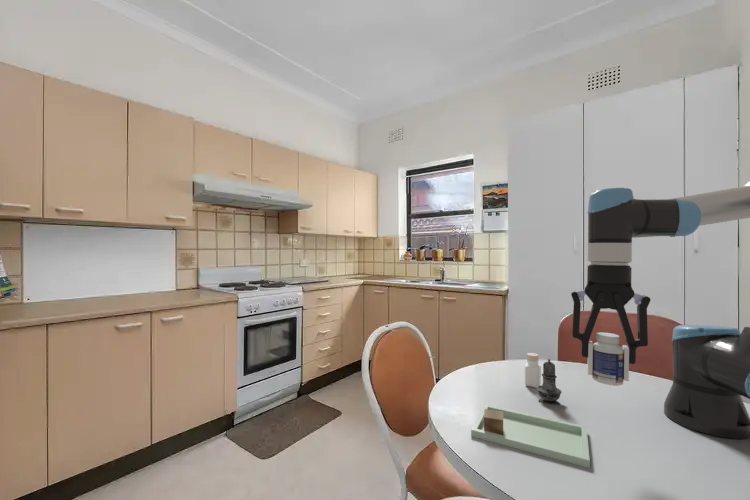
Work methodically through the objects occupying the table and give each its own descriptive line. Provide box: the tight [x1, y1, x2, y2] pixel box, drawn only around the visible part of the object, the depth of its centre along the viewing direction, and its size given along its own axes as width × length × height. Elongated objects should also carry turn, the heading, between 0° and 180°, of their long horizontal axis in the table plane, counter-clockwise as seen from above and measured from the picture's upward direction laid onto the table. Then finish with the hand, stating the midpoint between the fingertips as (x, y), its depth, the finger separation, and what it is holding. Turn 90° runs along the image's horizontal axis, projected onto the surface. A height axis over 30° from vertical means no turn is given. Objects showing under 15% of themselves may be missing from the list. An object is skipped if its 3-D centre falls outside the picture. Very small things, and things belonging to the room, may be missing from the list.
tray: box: [470, 404, 591, 469], centre depth 74 cm, size 22×14×2 cm, turn 60°
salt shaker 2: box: [536, 358, 563, 406], centre depth 91 cm, size 6×6×12 cm
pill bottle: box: [591, 331, 624, 387], centre depth 70 cm, size 5×5×10 cm
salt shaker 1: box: [524, 352, 542, 389], centre depth 103 cm, size 4×4×10 cm
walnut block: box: [484, 409, 503, 435], centre depth 75 cm, size 4×4×4 cm
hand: (607, 375), depth 70 cm, fingers closed on pill bottle, 5 cm apart
